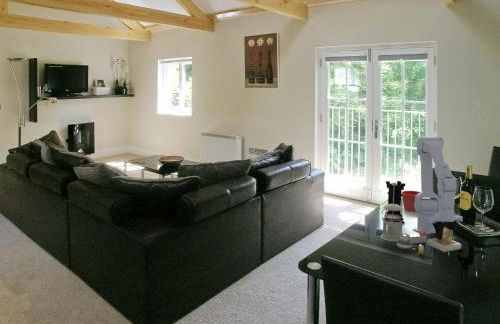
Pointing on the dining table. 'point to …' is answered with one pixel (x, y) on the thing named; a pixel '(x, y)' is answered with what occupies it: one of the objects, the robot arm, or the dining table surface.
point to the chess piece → (395, 197)
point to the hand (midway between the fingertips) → (444, 238)
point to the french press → (392, 222)
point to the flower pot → (409, 200)
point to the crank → (412, 238)
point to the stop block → (446, 237)
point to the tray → (443, 248)
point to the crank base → (410, 247)
